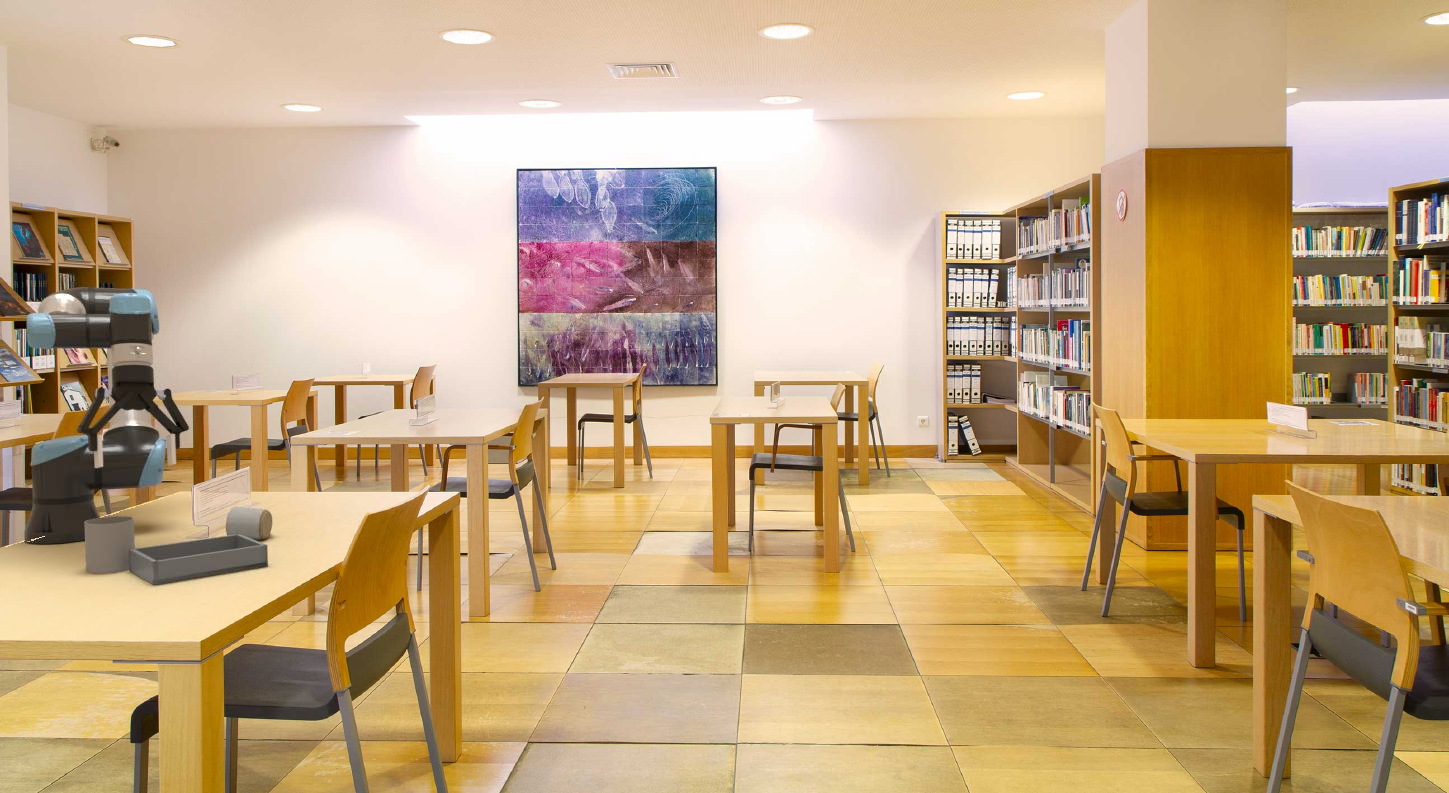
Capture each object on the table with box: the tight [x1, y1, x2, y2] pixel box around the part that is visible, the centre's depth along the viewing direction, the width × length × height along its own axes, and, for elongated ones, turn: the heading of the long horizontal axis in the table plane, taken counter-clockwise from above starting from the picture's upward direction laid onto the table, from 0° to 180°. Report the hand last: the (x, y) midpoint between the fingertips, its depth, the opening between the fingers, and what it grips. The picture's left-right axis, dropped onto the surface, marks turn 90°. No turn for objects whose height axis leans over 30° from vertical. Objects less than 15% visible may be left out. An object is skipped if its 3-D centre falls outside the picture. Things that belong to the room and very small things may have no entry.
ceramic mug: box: [225, 506, 273, 541], centre depth 222 cm, size 11×8×8 cm
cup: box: [84, 515, 136, 575], centre depth 192 cm, size 8×8×10 cm
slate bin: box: [129, 534, 269, 586], centre depth 193 cm, size 15×21×4 cm
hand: (136, 466), depth 198 cm, fingers open, 13 cm apart
